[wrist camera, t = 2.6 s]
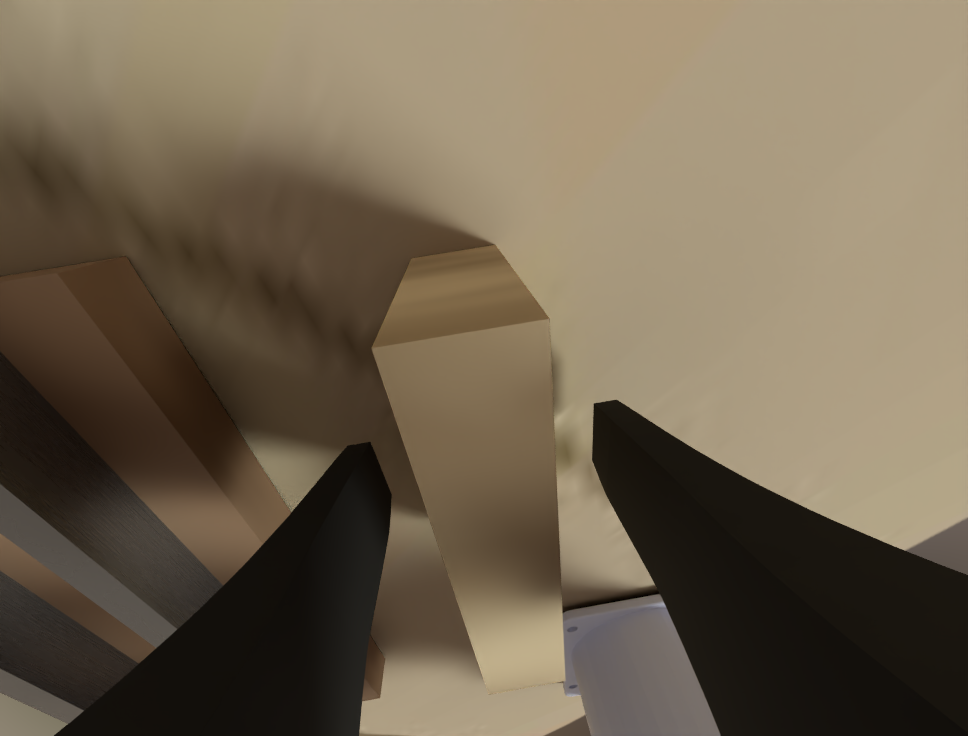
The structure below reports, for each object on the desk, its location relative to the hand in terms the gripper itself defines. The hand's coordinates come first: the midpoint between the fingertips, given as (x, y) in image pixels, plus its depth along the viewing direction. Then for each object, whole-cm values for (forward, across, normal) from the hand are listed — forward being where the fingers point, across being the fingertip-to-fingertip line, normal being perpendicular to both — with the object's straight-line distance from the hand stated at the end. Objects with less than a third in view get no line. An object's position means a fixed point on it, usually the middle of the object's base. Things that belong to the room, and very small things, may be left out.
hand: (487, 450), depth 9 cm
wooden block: (+2, 0, 0) cm, 2 cm away
